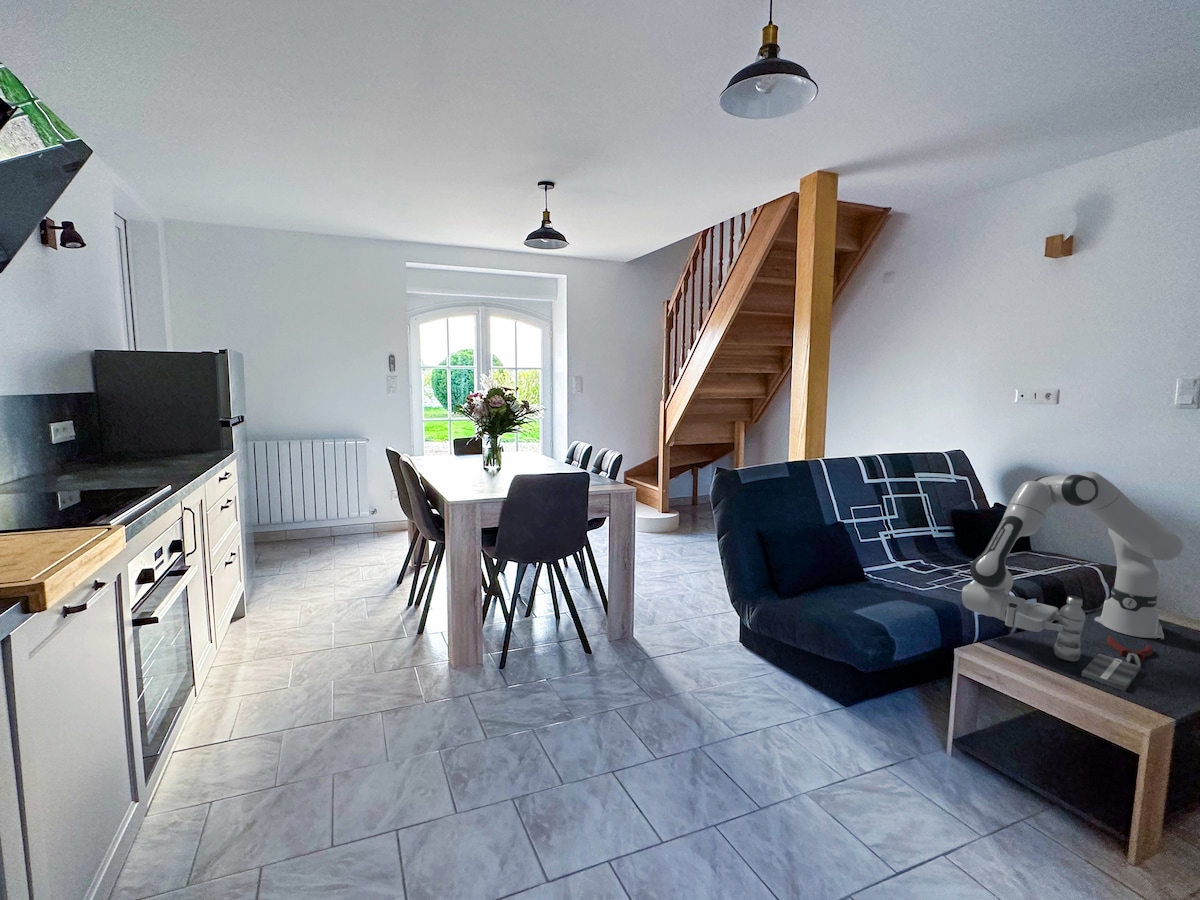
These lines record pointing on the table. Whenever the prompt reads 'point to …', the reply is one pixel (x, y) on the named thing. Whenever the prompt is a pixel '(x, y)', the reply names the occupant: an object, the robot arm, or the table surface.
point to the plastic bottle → (1070, 630)
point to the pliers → (1130, 656)
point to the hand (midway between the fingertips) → (1067, 625)
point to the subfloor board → (1111, 671)
